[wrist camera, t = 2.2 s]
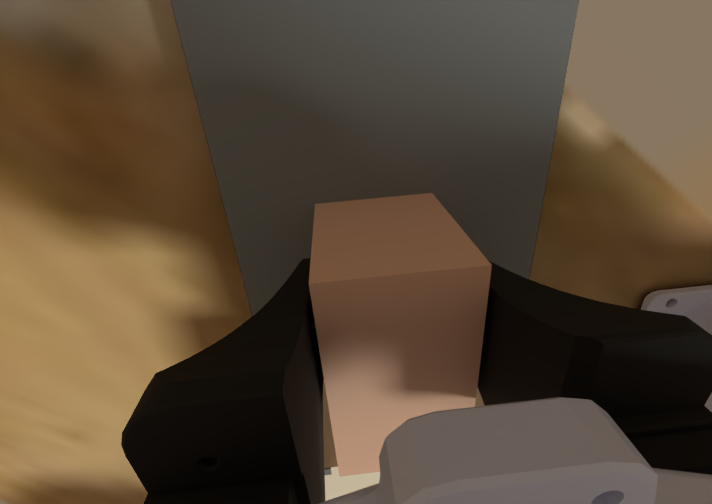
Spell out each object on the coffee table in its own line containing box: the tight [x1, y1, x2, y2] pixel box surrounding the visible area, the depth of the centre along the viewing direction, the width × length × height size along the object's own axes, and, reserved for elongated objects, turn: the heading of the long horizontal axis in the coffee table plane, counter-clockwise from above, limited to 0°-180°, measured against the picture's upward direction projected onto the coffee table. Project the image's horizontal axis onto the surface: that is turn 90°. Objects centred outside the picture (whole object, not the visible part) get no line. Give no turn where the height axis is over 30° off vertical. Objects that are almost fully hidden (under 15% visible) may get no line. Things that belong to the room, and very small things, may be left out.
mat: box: [171, 0, 579, 316], centre depth 15 cm, size 11×22×1 cm, turn 4°
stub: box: [309, 193, 492, 476], centre depth 12 cm, size 4×7×5 cm, turn 4°
